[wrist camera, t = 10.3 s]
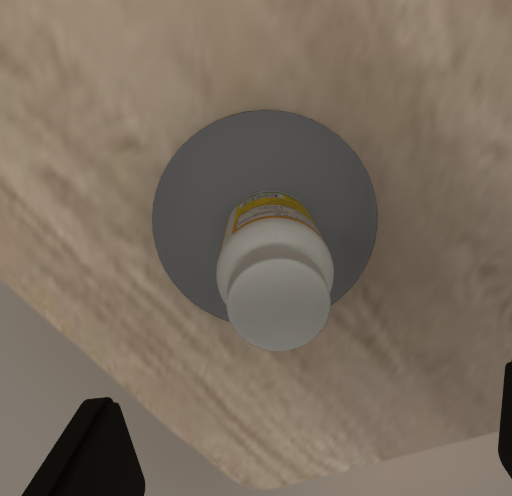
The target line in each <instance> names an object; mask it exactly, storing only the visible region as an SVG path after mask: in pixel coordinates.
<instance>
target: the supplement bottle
mask: <svg viewBox="0 0 512 496" xmlns="http://www.w3.org/2000/svg"><path fill="white" fill-rule="evenodd" d="M333 278H334V268H333V261H332V258H331V255H330V252H329V250H328V248H327V246H326V244H325V242H324V240H323V238H322V236H321V234H320V233H319V231H318V229H317V228H316V226H315V224H314V222H313V220H312V218H311V216H310V215H309V213H308V211H307V209H306V208H305V207H304V205H303V204H302V203H301V202H300V201H298V200H297V199H296V198H294V197H293V196H291V195H289V194H287V193H284V192H280V191H273V190H267V191H260V192H256V193H254V194H251V195H249V196H247V197H246V198H244V199H243V200H242V201H241V202H239V203H238V204H237V206H236V207H235V208H234V209H233V211H232V213H231V215H230V217H229V220H228V223H227V227H226V231H225V235H224V239H223V243H222V247H221V251H220V254H219V258H218V263H217V270H216V279H217V285H218V289H219V292H220V295H221V297H222V299H223V301H224V303H225V304H226V308H227V314H228V318H229V321H230V323H231V325H232V327H233V328H234V330H235V331H236V332H237V334H238V335H239V336H240V337H241V338H242V339H243V340H245V341H246V342H248V343H249V344H251V345H253V346H255V347H258V348H261V349H264V350H269V351H286V350H292V349H295V348H298V347H301V346H303V345H305V344H307V343H308V342H310V341H311V340H313V339H314V338H315V337H316V336H317V335H318V334H319V333H320V332H321V331H322V329H323V328H324V326H325V324H326V322H327V320H328V317H329V314H330V308H331V299H330V292H331V289H332V285H333Z"/></svg>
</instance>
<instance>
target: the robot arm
mask: <svg viewBox="0 0 512 496" xmlns="http://www.w3.org/2000/svg"><path fill="white" fill-rule="evenodd" d="M498 453H499V457H500V460H501V462H502V464H503V466H504V468H505V469H506V471H507V472H508V474H509V475H510V477H511V478H512V361H511V362H509V363H507V364H506V367H505V375H504V387H503V398H502V409H501V421H500V432H499V444H498ZM144 493H145V480H144V476H143V473H142V471H141V467H140V465H139V461H138V458H137V455H136V453H135V449H134V447H133V444H132V441H131V438H130V435H129V432H128V429H127V426H126V423H125V420H124V417H123V414H122V411H121V408H120V406H119V404H118V403H114V402H113V400H112V399H111V398H110V397H105V398H94V399H87V400H85V401H84V402H83V403H82V404H81V405H80V407H79V409H78V410H77V412H76V413H75V415H74V416H73V418H72V420H71V421H70V422H69V424H68V425H67V427H66V428H65V430H64V431H63V433H62V435H61V436H60V438H59V439H58V441H57V442H56V444H55V445H54V447H53V448H52V450H51V451H50V453H49V454H48V456H47V457H46V459H45V461H44V462H43V464H42V465H41V467H40V468H39V470H38V471H37V473H36V474H35V476H34V478H33V479H32V480H31V482H30V484H29V485H28V487H27V488H26V490H25V491H24V493H23V494H22V496H144Z"/></svg>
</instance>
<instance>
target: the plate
mask: <svg viewBox="0 0 512 496" xmlns="http://www.w3.org/2000/svg"><path fill="white" fill-rule="evenodd" d="M267 190H273V191H280V192H284V193H287V194H289V195H291V196H293V197H294V198H296V199H297V200H298V201H300V202H301V203H302V204H303V205H304V207H305V208H306V209H307V211H308V213H309V215H310V216H311V218H312V220H313V222H314V224H315V226H316V228H317V229H318V231H319V233H320V234H321V236H322V238H323V240H324V242H325V244H326V246H327V248H328V250H329V252H330V255H331V258H332V261H333V268H334V278H333V285H332V289H331V292H330V299H331V305H332V304H334V303H335V302H336V301H337V300H339V299H340V298H341V297H342V296H343V295H344V294H345V293H346V292H347V291H348V290H349V289H350V288H351V287H352V285H353V284H354V283H355V282H356V281H357V279H358V278H359V276H360V274H361V273H362V271H363V270H364V268H365V266H366V264H367V262H368V260H369V257H370V255H371V252H372V249H373V245H374V242H375V237H376V231H377V205H376V198H375V194H374V190H373V186H372V183H371V181H370V178H369V176H368V173H367V171H366V169H365V168H364V166H363V164H362V162H361V161H360V159H359V158H358V156H357V155H356V154H355V153H354V151H353V150H352V149H351V147H350V146H349V145H348V144H347V143H346V142H344V141H343V140H342V139H341V138H340V137H339V136H338V135H337V134H335V133H334V132H332V131H331V130H330V129H328V128H327V127H325V126H323V125H321V124H319V123H317V122H315V121H313V120H312V119H309V118H306V117H303V116H300V115H297V114H293V113H288V112H282V111H270V110H260V111H249V112H244V113H239V114H235V115H231V116H228V117H226V118H223V119H221V120H218V121H216V122H214V123H212V124H210V125H209V126H207V127H205V128H203V129H202V130H200V131H199V132H198V133H196V134H195V135H194V136H192V137H191V138H190V139H189V140H188V141H187V142H186V143H185V144H184V145H183V146H182V147H181V148H180V149H179V150H178V151H177V152H176V154H175V155H174V156H173V158H172V159H171V160H170V162H169V163H168V165H167V167H166V169H165V171H164V172H163V174H162V176H161V179H160V182H159V184H158V187H157V190H156V194H155V198H154V203H153V213H152V225H153V235H154V241H155V246H156V249H157V252H158V255H159V258H160V260H161V262H162V264H163V266H164V269H165V271H166V272H167V274H168V275H169V277H170V278H171V280H172V281H173V283H174V284H175V285H176V286H177V288H178V289H179V290H180V291H181V292H182V293H183V294H184V295H185V296H186V297H187V298H188V299H189V300H190V301H192V302H193V303H194V304H196V305H197V306H199V307H200V308H201V309H203V310H205V311H206V312H208V313H210V314H212V315H214V316H216V317H218V318H221V319H223V320H226V321H229V318H228V314H227V308H226V304H225V303H224V301H223V299H222V297H221V295H220V292H219V289H218V285H217V279H216V270H217V263H218V258H219V254H220V251H221V247H222V243H223V239H224V235H225V231H226V227H227V223H228V220H229V217H230V215H231V213H232V211H233V209H234V208H235V207H236V206H237V204H238V203H239V202H241V201H242V200H243V199H244V198H246V197H247V196H249V195H251V194H254V193H256V192H260V191H267ZM229 322H230V321H229Z"/></svg>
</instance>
